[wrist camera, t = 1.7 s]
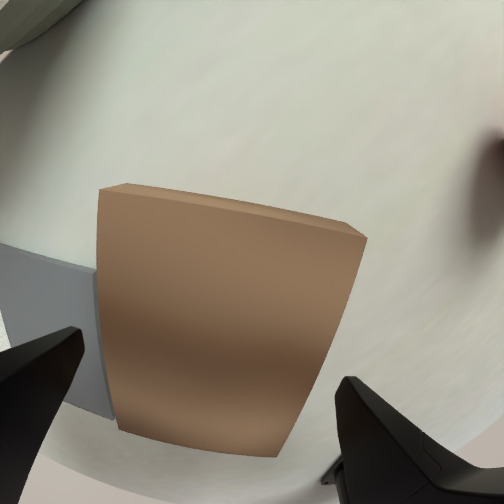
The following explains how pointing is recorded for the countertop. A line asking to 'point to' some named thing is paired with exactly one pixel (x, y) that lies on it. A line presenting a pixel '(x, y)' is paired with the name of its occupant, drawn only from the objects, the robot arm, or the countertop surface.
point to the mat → (56, 316)
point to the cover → (216, 314)
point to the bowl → (29, 19)
